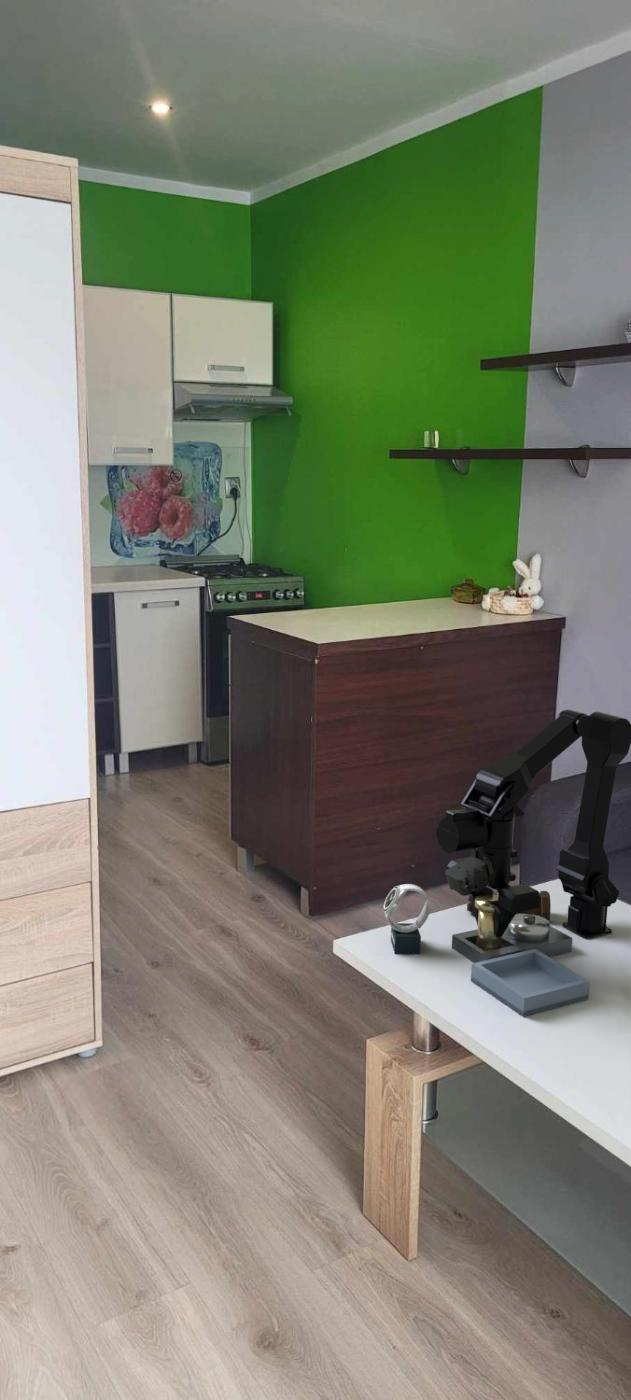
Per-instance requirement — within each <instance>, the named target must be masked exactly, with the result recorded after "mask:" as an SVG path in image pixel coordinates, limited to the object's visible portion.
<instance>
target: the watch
mask: <svg viewBox="0 0 631 1400" xmlns="http://www.w3.org/2000/svg"><path fill="white" fill-rule="evenodd" d="M408 891H411V892H416V893H419V894H420V895H422V896H423V897H424V898H425V899H426V901H425V902H424V905H423V908H422V910H421V912H420V914H419V915H418V917H417V918H416V919H415V922H413V923H412V922H410V923H405V922H403V923H399V922H398V923H395V922H393V920H391V919H390V918H391V916H392V915H393V914H394V913H396V911H397V910H399V908H400V906H401V905H402V902H403V900H404V896H405V895H406V894H407V892H408ZM382 912H384V915H385V919H386V921H387V924H388V925H389V926H390V943H391V946H392V949H393V952H394V955H396V954H397V955H398V954H399V955H401V954H402V955H403V954H404V955H405V954H406V955H407V954H409V955H410V954H411V955H415V954H417V955H420V954H421V942H422V939H421V938H422V936H421V934H420V930H419V929H421V928H422V927H423V925H424V924H425V923H426V921H427V920H428V917H429V915H430V913H431V903H430V900H429V896H428V895H427V893H426V891H424V889H422V887H420V886H418V885H416V884H412V883H405V884H404V883H403V884H399V885H396V886H395V885H394V887H393V888H391V890H390V891H389V892H388V894H387V895H386V897H385V899H384V902H383V905H382Z"/></svg>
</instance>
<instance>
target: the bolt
mask: <svg viewBox="0 0 631 1400" xmlns="http://www.w3.org/2000/svg"><path fill="white" fill-rule="evenodd" d="M539 893H540V894H541V895H542V899H541V908H536V909H532V910H527V911H522V912H517V913H516V914H515V915H517V914H531V915H537V916H540V917H543V918H545V919H546V920H548V921H549V922H550V919H551V907H552V904H551V894H550V892H548V891H547V890H540V891H539ZM493 894H495V895H498V892H495V891H493ZM466 900H467V901H468V903H467V904H466V909H467V910H466V911H468V912H469V913H474V911H473V907H472V904H471V900H470V898H469V897H467V898H466Z"/></svg>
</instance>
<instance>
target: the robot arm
mask: <svg viewBox="0 0 631 1400" xmlns="http://www.w3.org/2000/svg"><path fill="white" fill-rule="evenodd" d="M580 738H581V748H582V750H583V753H584V756H585V759H586V769H585V776H584V781H583V787H582V792H581V797H580V805H579V812H578V818H577V824H576V827H575V829H576V830H575V835H574V840H573V842H572V843H571V844H570V845H568V847H567V848H566V849H565V848H561V849H560V851H559V861H558V865H557V867H556V871H558V880H559V881H560V882H561V885H562V889H563V892H565V893H566V894H567V893H568V894H569V895H572V896H570V897H569V898H570V899H569V905H568V907H567V919H566V921H564V922H562V924H561V926H562V927H564V928H566V929H567V930H569V931H571V932H573V933H575V934H577V935H579V936H580V937H582V938H584V939H590V938H594V937H598V936H604V935H607V934H612V933H613V929H612V928H610V927H608V926H607V918H608V908H609V907H611V906H612V905H613V904H616V903H617V900H618V897H619V894H620V890H618V889H617V887H616V886H615V885H614V884H613V883H612V881H611V880H610V879H609V870H610V864H609V862H610V861H609V859H608V857H607V854H606V851H605V848H604V843H605V836H606V831H607V825H608V818H609V812H610V807H611V801H612V795H613V789H614V783H615V778H616V777H615V776H616V772H617V771H616V770H617V768H618V766H619V765H620V764H621V762H623V760H624V759H625V758H626V756H627V755H628V754H629V751H630V747H631V722H630V720H628V719H627V718H624V717H620V716H617V715H613V714H608V713H605V712H601V711H594V712H592V713H590V714H589V715H588V714H586V713H583V712H580V711H576V710H571V709H565V710H562V711H560V712H559V713H558V714H557V717H556V719H555V720H553V721H552V722H551V723H550V724H548V725H547V726H546V727H545V728H543V730H541V731H540V732H538V734H537V735H536V736H534V737H533V738H531V739H530V740H529V741H528V742H527V743H526V744H524V745H523V746H522V747H521V748H520V749H519V750H518V751H516V752H515V753H514V754H512V755H510V756H508V757H504V758H501V759H500V758H499V759H496V760H495V761H493V762H491V763H489V764H488V765H486V766H485V767H483V768H482V769H480V770H479V771H478V772H477V774H476V776H475V780H474V781H473V783H472V785H471V786H470V788H469V790H468V791H467V793H466V795H465V796H464V798H463V799H462V801H461V803H460V807H461V808H463V809H449V810H446V811H445V817H444V818H442V819H441V820H440V821H439V822H438V824H437V825H438V826H437V827H436V838H437V840H436V841H437V842H438V845H439V846H440V848H441V850H442V851H444V852H445V853H446V854H454V853H455V854H456V853H460V852H466V851H469V850H470V855H469V857H468V856H467V857H463V858H462V857H461V858H457V859H451V860H450V862H449V863H448V864H447V865H446V870H445V876H446V878H447V883H448V886H449V889H450V890H452V891H453V890H454V891H455V892H457V893H458V894H459V895H460V896H465V897H466V896H468V898H470V900H471V904H472V907H473V911H474V912H473V913H474V914H473V915H474V919H475V921H476V926H478V915H479V910H478V909H477V908H476V907H475V898H476V896H478V895H481V894H493V891H495V892H496V893H497V895H498V900H496V901H491V902H489V903H490V905H491V906H492V907H493V908H494V909H495V935H496V937H497V938H499V937H502V936H503V934H504V932H505V931H506V929H507V927H508V926H509V924H510V922H511V921H512V919H513V917H514V916H515V915H517V914H516V913H517V912H522V911H527V910H532V909H536V908H541V899H542V895H541V894H540V891H539V890H537V889H536V888H533V887H531V886H529V885H528V884H526V883H522V884H516V885H510V882H514V881H516V880H517V875H516V873H513V872H511V871H512V859H513V858H517V857H518V850H517V849H514V848H513V841H514V828H515V827H514V826H515V818H520V817H524V816H525V814H526V812H525V811H524V809H521V807H519V805H518V804H519V803H520V801H521V800H522V799H523V798H524V797H525V796H526V794H527V793H528V792H529V791H530V789H531V784H532V781H533V779H534V778H535V777H536V776H537V775H538V774H539V773H541V772H542V771H543V769H545V768H546V767H547V766H548V765H550V764H551V763H552V762H553V761H554V760H555V759H557V757H558V756H560V755H561V754H562V753H563V752H565V750H567V749H568V748H570V747H571V746H572V745H573V744H575V742H576V741H577V740H579V739H580ZM480 800H483V801H485V802H487V803H490V804H492V805H494V806H492V805H490V804H487V803H484V802H482V801H480Z"/></svg>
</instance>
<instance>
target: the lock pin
mask: <svg viewBox="0 0 631 1400" xmlns="http://www.w3.org/2000/svg"><path fill="white" fill-rule="evenodd" d="M496 900H498V894H497V895H495V894H481V895H478V896H476V898H475V907H476V908H477V909H478V910H479V915H478V925H477V929H478V932H477V947H479V948H481V949H482V950H484V951H485V952H487V951H491V950H496V949H500V948H501V937H499V938H497V937H496V935H495V909H494V908H493V907H492V906H491V905H490V903H489V902H491V901H496Z"/></svg>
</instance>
